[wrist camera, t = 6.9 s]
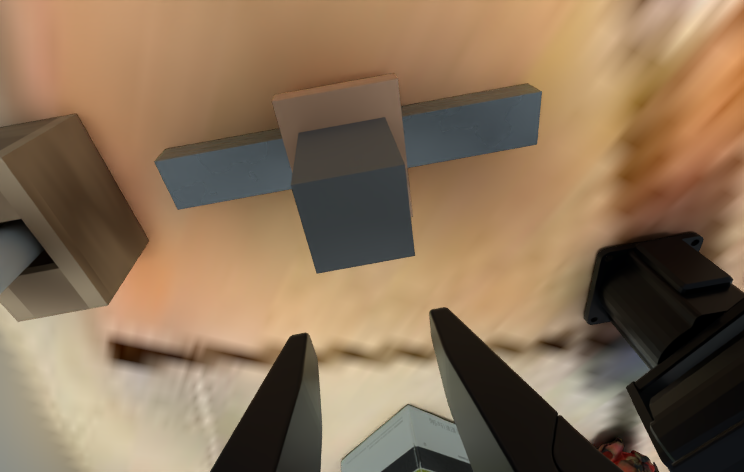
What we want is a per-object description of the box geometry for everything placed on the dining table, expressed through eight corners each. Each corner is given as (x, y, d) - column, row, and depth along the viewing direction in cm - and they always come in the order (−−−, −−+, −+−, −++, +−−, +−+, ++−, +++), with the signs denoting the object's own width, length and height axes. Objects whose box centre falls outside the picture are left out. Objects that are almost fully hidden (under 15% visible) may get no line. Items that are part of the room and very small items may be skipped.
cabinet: (151, 245, 22) (111, 310, 18) (79, 258, 22) (22, 326, 18) (76, 113, 18) (1, 157, 14) (-13, 129, 18) (-116, 178, 14)
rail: (524, 133, 20) (537, 144, 19) (186, 195, 20) (177, 209, 19) (527, 83, 19) (541, 91, 18) (165, 148, 19) (154, 161, 18)
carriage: (405, 197, 21) (436, 281, 15) (311, 214, 21) (307, 304, 15) (390, 67, 17) (423, 116, 12) (276, 88, 17) (254, 146, 12)
